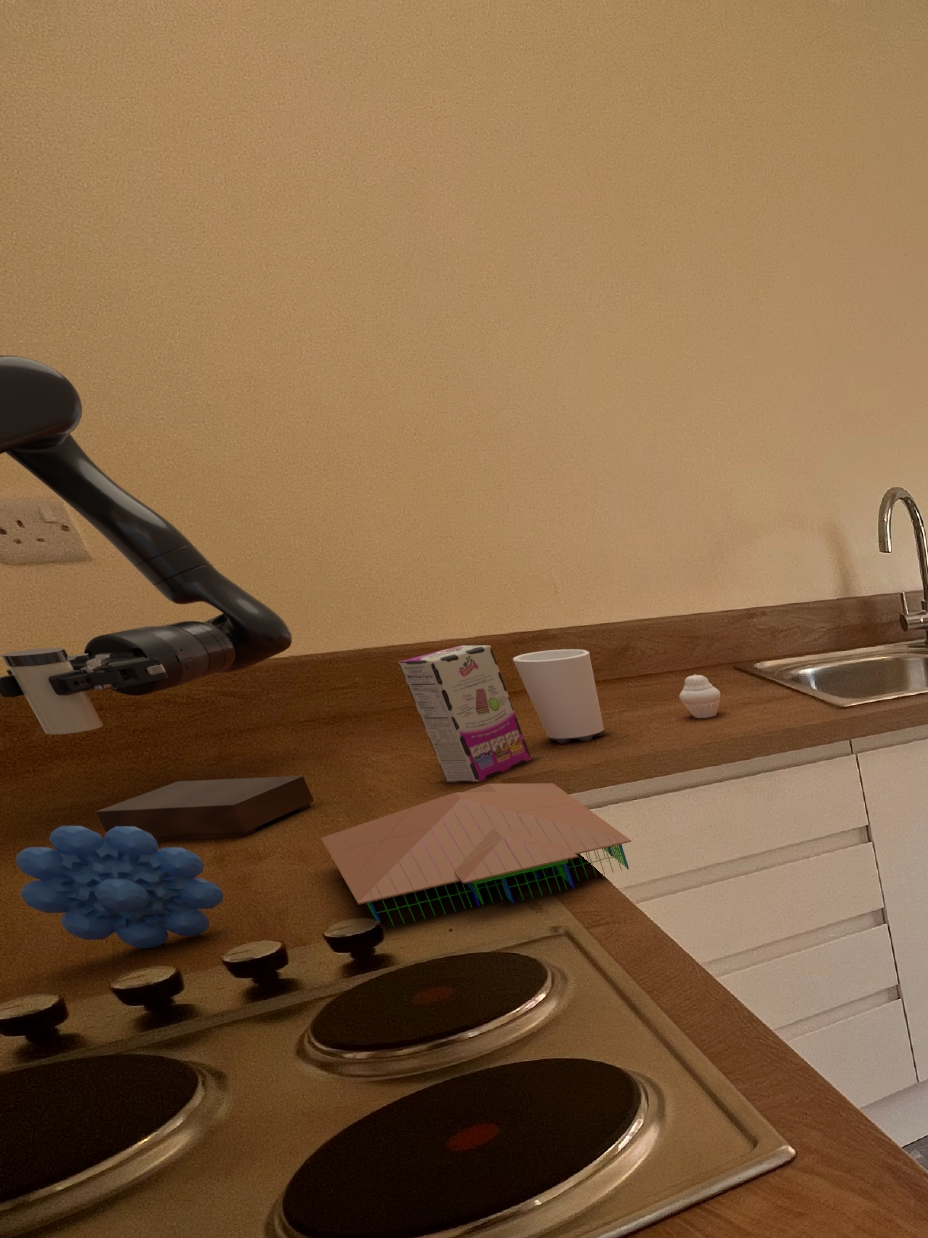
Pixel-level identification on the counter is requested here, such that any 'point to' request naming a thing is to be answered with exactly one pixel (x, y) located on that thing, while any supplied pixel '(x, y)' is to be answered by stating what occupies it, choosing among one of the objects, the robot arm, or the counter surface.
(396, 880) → the house
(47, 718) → the spice jar
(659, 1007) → the counter surface
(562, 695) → the cup
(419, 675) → the candy bar box
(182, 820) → the platform
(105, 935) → the blue flower
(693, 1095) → the counter surface
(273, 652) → the robot arm
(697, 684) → the muffin
